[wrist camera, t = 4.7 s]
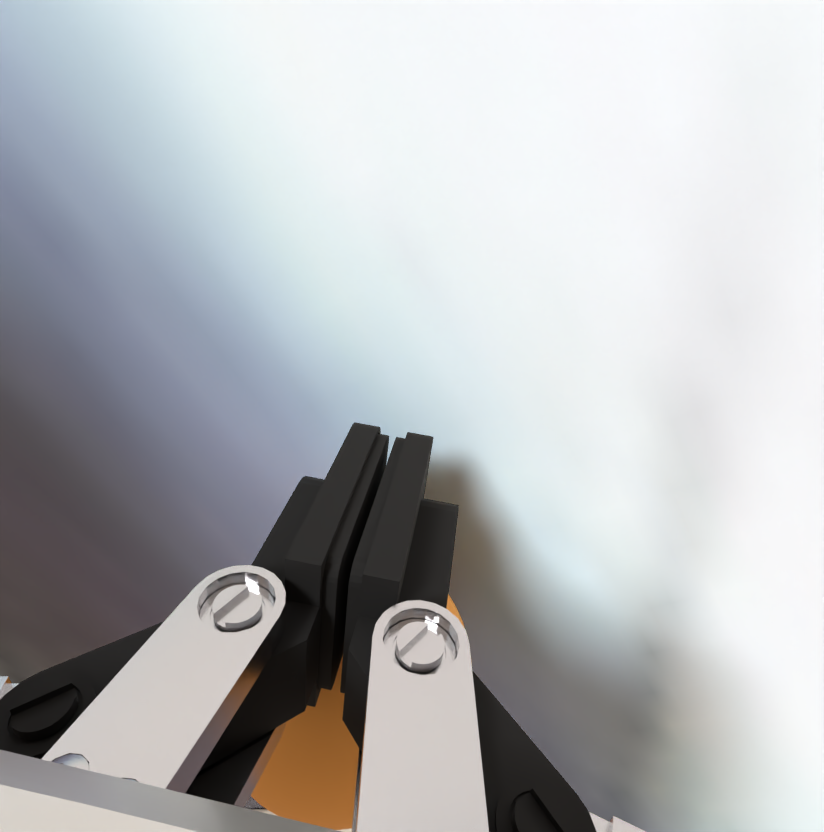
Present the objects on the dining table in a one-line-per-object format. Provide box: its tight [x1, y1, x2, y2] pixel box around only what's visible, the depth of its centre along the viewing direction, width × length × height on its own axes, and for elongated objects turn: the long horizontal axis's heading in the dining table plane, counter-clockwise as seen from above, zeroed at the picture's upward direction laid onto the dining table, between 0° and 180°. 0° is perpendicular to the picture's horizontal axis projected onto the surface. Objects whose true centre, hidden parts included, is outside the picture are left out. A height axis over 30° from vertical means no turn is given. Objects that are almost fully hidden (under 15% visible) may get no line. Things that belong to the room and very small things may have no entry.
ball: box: [251, 594, 472, 830], centre depth 12 cm, size 6×6×6 cm
